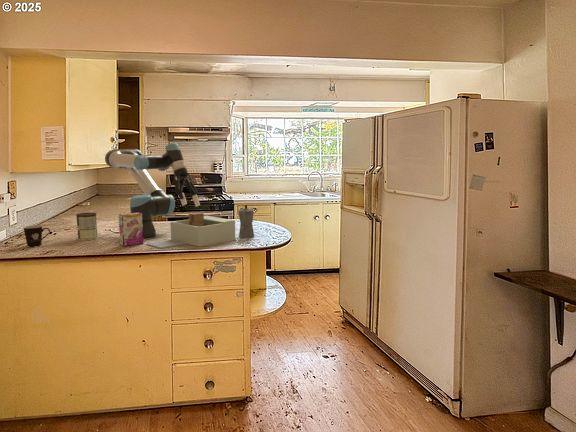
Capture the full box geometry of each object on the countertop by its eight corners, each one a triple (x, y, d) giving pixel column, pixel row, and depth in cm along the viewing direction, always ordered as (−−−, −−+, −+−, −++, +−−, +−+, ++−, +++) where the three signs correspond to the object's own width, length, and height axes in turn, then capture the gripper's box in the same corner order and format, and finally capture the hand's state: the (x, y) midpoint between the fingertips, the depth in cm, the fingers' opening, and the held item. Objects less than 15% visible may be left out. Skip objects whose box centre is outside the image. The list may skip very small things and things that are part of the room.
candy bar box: (123, 246, 246) (121, 215, 244) (119, 245, 250) (117, 214, 248) (144, 243, 254) (142, 213, 251) (140, 242, 258) (138, 212, 255)
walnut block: (189, 232, 260) (188, 213, 258) (198, 230, 264) (198, 212, 262) (194, 233, 256) (194, 214, 255) (204, 231, 260) (203, 213, 259)
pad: (146, 244, 251) (146, 243, 251) (169, 240, 261) (169, 239, 261) (160, 248, 242) (160, 247, 242) (184, 244, 252) (184, 243, 252)
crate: (171, 239, 264) (170, 220, 263) (206, 233, 281) (206, 215, 280) (199, 246, 246) (198, 225, 245) (235, 239, 263) (234, 220, 262)
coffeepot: (258, 237, 269) (258, 205, 266) (242, 239, 265) (242, 206, 262) (248, 233, 283) (248, 202, 280) (233, 234, 278) (232, 203, 276)
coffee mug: (23, 248, 245) (21, 228, 244) (27, 244, 253) (25, 225, 252) (48, 246, 248) (46, 227, 247) (51, 243, 256) (49, 224, 255)
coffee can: (73, 239, 267) (72, 214, 265) (89, 236, 275) (88, 212, 273) (85, 241, 261) (84, 215, 259) (101, 238, 270) (100, 213, 268)
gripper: (172, 164, 255) (184, 201, 251) (197, 170, 278) (208, 204, 275) (161, 169, 257) (173, 206, 253) (186, 175, 280) (197, 209, 277)
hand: (191, 205), depth 264 cm, fingers open, 13 cm apart
